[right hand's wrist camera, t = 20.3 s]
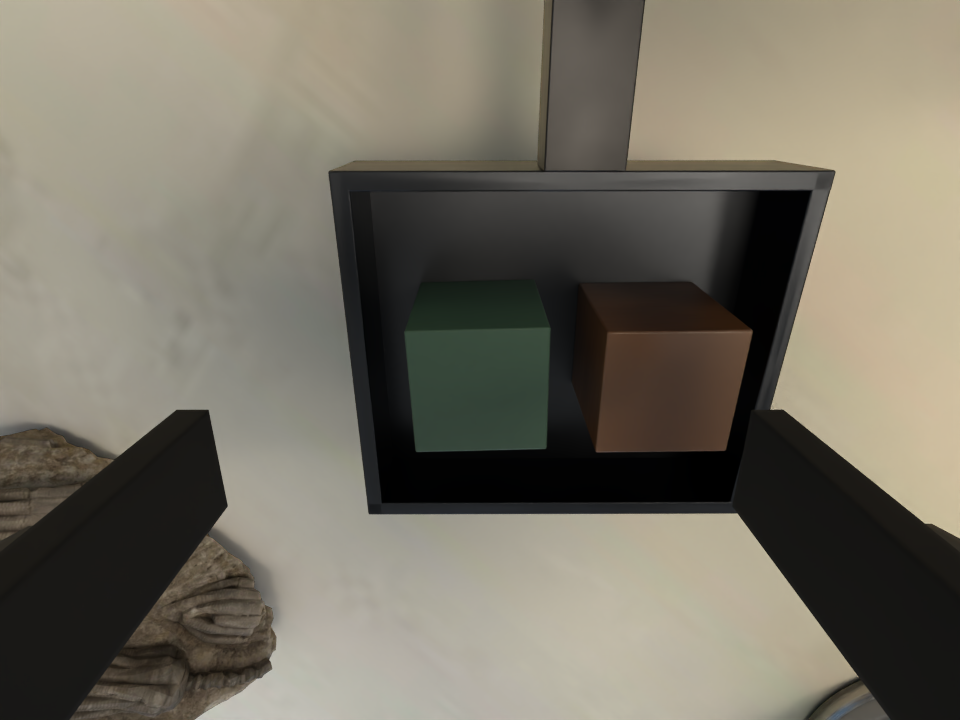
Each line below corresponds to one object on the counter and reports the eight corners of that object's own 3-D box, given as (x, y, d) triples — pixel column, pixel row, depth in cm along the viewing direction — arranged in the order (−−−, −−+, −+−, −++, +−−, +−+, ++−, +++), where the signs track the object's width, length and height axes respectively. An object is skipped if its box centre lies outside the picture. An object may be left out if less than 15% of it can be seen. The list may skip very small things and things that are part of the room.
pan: (978, -740, 11) (1216, -1145, 8) (707, 460, 25) (746, 521, 21) (266, -742, 11) (163, -1151, 8) (383, 461, 25) (366, 521, 21)
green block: (534, 278, 20) (550, 327, 16) (532, 380, 22) (546, 449, 18) (420, 282, 20) (403, 331, 16) (428, 383, 22) (415, 452, 18)
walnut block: (692, 281, 20) (754, 330, 16) (675, 382, 22) (726, 451, 18) (578, 282, 20) (607, 331, 16) (571, 383, 22) (595, 453, 18)
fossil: (322, 630, 32) (101, 899, 26) (307, 597, 41) (139, 794, 35) (32, 381, 29) (-299, 620, 23) (82, 403, 38) (-148, 581, 32)
